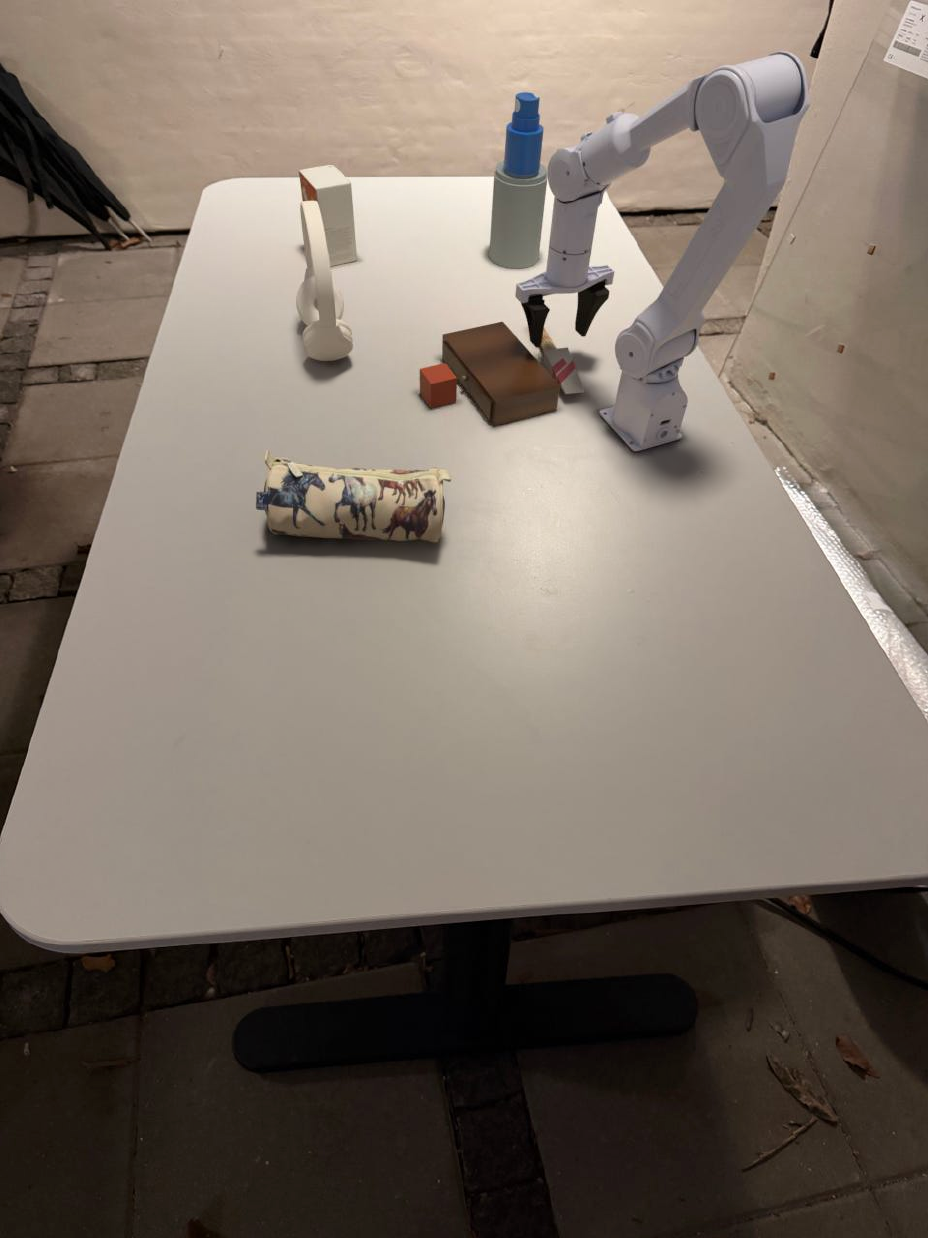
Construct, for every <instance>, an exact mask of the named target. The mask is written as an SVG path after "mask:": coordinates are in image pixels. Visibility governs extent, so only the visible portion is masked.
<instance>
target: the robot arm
mask: <svg viewBox="0 0 928 1238" xmlns="http://www.w3.org/2000/svg"><path fill="white" fill-rule="evenodd" d="M808 86H809V85H808V78H807V73H806V68H805V66H804V64H803V63H802V61H801V60H800V58H799V57H798V56H797V55H795V53H792V52H790V51H786V50H780V51H776V52H773V53H770V54H768V55H767V56H764V57H760V58H755V59H752V60H749V61H745V62H740V63H737V64H733V65H730V64H726V65H721V66H718V67H716V68H714V69H712V70H711V71H710V72H709V73H707V74H702V75H700V76H697V77H695V78H693V79H692V80H690V81H688V82H687V83H686V84H684V85H683V86H682V87H680V88H679V89H677V90H676V91H675V92H673V93H671V95H669V96H667V97H666V98H665V99H664V100H662V101H660V102H659V103H657V104H656V105H655V106H654V107H652V108H650V109H649V110H648V111H646V112H645V113H644V114H642V115H641V116H638V115H637V114H635V113H632V112H625V113H623V112H622V111H618V112H613V113H611V114H610V115H608V116H607V117H606V118H605V122H606V124H605V125H604V126H602V127H601V128H599V129H598V130H596V131H594V132H593V131H588V132H585V133H583V134H582V135H581V136H580V142H578V144H575V145H573V146H569V147H567V146H565V147H558V148H557V149H556V152H554V153H553V154H552V156H551V157H550V159H549V161H548V165H547V184H548V186H549V189H550V191H551V193H552V194H553V196H554V198H553V206H552V216H551V225H550V232H549V241H548V251H547V259H546V267H545V268H546V269H545V271H543V272H541V273H539V274H537V275H535V276H533V277H531V278H529V279H526V280H524V281H521V282H517V283H516V284H515V294H514V295H515V298H516V299H517V300H518V302H520V305H521V307H522V309H523V313H524V315H525V318H526V323H527V327H528V335H529V336H528V337H529V341H530V343H531V344H532V345H533V346H534V347H535V348H539V347H541V343H542V337H543V329H544V328H545V324H546V321H547V317H548V314H549V313H550V311H551V309H550V308H549V306H547V305H546V304H545V301H546V300H545V299H544V297H545V296H551V295H556V294H558V295H559V294H560V295H562V294H563V295H564V294H577V309H576V315H575V316H576V317H575V321H574V325H575V326H574V330H575V332H576V333H578V334H579V335H580V337H583V338H584V337H587V333H588V331H589V329H590V327H591V325H592V323H593V321H594V319H595V317H596V315H597V313H599V311H600V309H601V307H602V306H603V305H604V304H605V303H606V302H607V301H608V299H609V297H610V290H609V289H608V288H607V287H606V286H611V285H613V283H614V277H615V270H614V269H612V267H610V266H609V265H608V264H605V265H596V266H595V265H593V266H592V265H591V266H590V262H591V256H592V251H593V250H592V249H593V242H594V236H595V231H596V230H595V229H596V223H597V218H598V217H597V216H598V211H599V210H598V209H599V207H601V205H602V204H603V199H604V195H605V192H606V191H607V190H608V189H609V188H610V186H611V185H612V183H613V182H615V181H617V180H619V179H620V178H623V177H624V176H626V175H628V174H630V173H632V172H633V171H635V170H637V169H639V168H641V167H642V166H643V165H644V164H645V163H646V162H647V161H648V159H649V157H650V154H651V150H652V148H653V147H654V146H656V145H658V144H660V143H662V142H663V141H665V140H668V139H670V138H671V137H674V136H675V135H678V134H679V133H681V132H683V131H685V130H687V129H689V131H691V132H700V135H701V137H702V139H703V141H704V143H705V146H706V149H707V151H708V153H709V155H710V157H711V159H712V162H713V164H714V166H715V168H716V170H717V172H718V175H719V176H720V177H721V178H723V185H722V186H721V188H720V190H719V191H718V193H717V195H716V197H715V198H714V200H713V202H712V203H711V206H710V207H709V209H708V211H707V212H706V214H705V216H704V217H703V219H702V221H701V223H700V224H699V226H698V227H697V229H696V231H695V233H694V234H693V236H692V238H691V240H690V241H689V243H688V245H687V247H686V248H685V250H684V252H683V254H682V255H681V257H680V259H679V260H678V262H677V263H676V266H675V267H674V269H673V271H672V272H671V274H670V276H669V278H668V279H667V280H666V283H665V285H664V286H663V288H662V290H661V292H660V293H659V295H658V297H657V298H656V299H655V300H654V301H653V302H652V303H651V304H650V305H648V306H647V307H646V308H645V309H644V310H643V311H642V312H640V313H639V314H638V315H637V316H636V317H635V319H634V320H633V322H632V324H630V326H629V327H627V328H625V329H623V330H621V331H620V332H619V333H618V335H617V337H616V340H615V345H614V354H615V358H616V359H615V360H616V362H617V364H618V365H619V369H620V370H621V372H620V373H621V374H620V378H619V382H618V387H617V392H616V395H615V401H614V405H613V406H611V407H607V408H603V409H601V410H599V416H600V417H601V418H602V419H603V420H604V421H605V422H606V423H607V424H608V426H610V428H611V429H612V430H613V431H614V432H615V433H616V434H617V435H618V436H619V437H620V438H621V439H622V441H624V443H625V444H626V445H627V446H628V448H629V449H631V450H632V451H633V452H640V451H643V450H647V449H650V448H653V447H656V446H660V445H664V444H667V443H671V442H674V441H678V440H681V439H682V438H683V434H682V433H681V432H680V430H681V427H682V423H683V419H684V417H685V413H686V410H687V407H688V402H689V401H688V400H689V399H688V395H687V393H686V391H684V389H683V387H682V386H681V383H680V379H679V371H680V368H682V366H683V363H684V359H685V358H686V357H689V356H690V355H692V353H694V352H695V351H696V349H697V347H698V344H699V339H700V333H701V330H702V328H703V326H704V325H705V323H706V322H707V318H706V316H705V314H704V313H703V310H704V308H705V307H706V305H707V304H708V302H709V301H710V299H711V298H712V296H713V295H714V293H715V291H716V290H717V288H718V287H719V286H720V284H721V282H722V281H723V279H724V278H725V276H726V275H727V273H728V272H729V270H730V269H731V267H732V266H733V265H734V263H735V261H736V260H737V258H738V256H739V255H740V253H741V252H742V251H743V249H744V248H745V246H746V244H747V243H748V242H749V240H750V238H751V237H752V235H753V234H754V232H755V231H756V229H757V228H758V226H759V225H760V223H761V222H762V221H763V219H764V217H765V216H766V214H767V212H768V211H769V210H770V208H771V207H772V205H773V204H774V202H775V201H776V199H777V197H778V196H779V194H781V191H782V190H783V188H784V186H785V183H786V182H787V181H786V180H787V176H788V172H789V169H790V163H791V159H792V154H793V149H794V146H795V142H796V141H795V140H796V136H797V132H798V127H799V125H800V123H801V121H802V120H803V118H804V116H805V115H806V113H807V111H808V110H809V108H810V107H811V100H810V94H809V87H808Z"/></svg>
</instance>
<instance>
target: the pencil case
mask: <svg viewBox="0 0 928 1238" xmlns="http://www.w3.org/2000/svg"><path fill="white" fill-rule="evenodd" d="M264 463H265V465H266V466H267V468H268V473H267V476H266V479H265V481H264V482H265V483H264V486H263V491H256V497H255V498H256V499H255V500H256V501H255V509H256V510H258V511H264V513H265V515H266V522H267V523H266V524H267V527H268V529H269V531H270V532H271V533H272V534H273V535H285V536H286V535H289V536H293V537H298V538H299V537H300V538H320V539H321V538H322V539H348V540H363V541H369V540H382V541H383V540H384V541H391V540H392V541H397V542H403V541H416V540H421V541H428V542H431V543H437V542H438V541H439V539H440V538H441V535H442V529H443V525H444V519H445V513H446V512H445V511H446V501H445V496H444V481H445V482H448V483H451V482H452V476H451V473H450V472H449V471H448V469H443V468H438V467H431V468H429V469H427V470H420V469H413V470H411V469H410V470H406V469H396V468H395V469H394V468H393V469H392V468H391V469H390V468H389V469H373V468H359V467H351V468H335V467H326V466H325V467H324V466H321V465H312V464H305V463H299V462H298V463H297V462H294V461H292V460H291V459H290V458H287V457H285V456H284V457H275V458H273V456H272V454H271V453H270V450H269V449H266V451H265V455H264Z"/></svg>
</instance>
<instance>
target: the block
mask: <svg viewBox="0 0 928 1238" xmlns="http://www.w3.org/2000/svg"><path fill="white" fill-rule="evenodd" d="M457 390H458V378H457V377H456V376H455V374H454V373H453V372H452V371H451V369H450V368H449V367H448V365H447V364H446V363H445V362H442V363H439V364H434V365H430V366H426V367H422V368H419V394H420V396H421V397H422V398H423V399H424V401H425V402H426V404H427V405H428V407H429V408H430V409H434V408H437V407H442V406H446V405H450V404H453V403H454V404H455V403H457Z"/></svg>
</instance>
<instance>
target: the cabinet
mask: <svg viewBox="0 0 928 1238" xmlns="http://www.w3.org/2000/svg"><path fill="white" fill-rule="evenodd" d="M441 339H442V340H441V341H442V343H441V347H442V348H441V358H442V360H443V362H444V363H446V364H447V366H448V367H449V368H450V370H451V371H452V372H453V373H454V375H455V376H456V377H457V381H459V383H460V384H461V385H462V386H463V388H464V389H465V390H466V392H467V393H468V395H470V397H471V398H472V399H473V401H474V402H475V403H476V405H477V406H478V407H479V408H480V411H482V413H483V414H484V415H485V417H486V418H487V419H488V420H489V422H490V423H491V425H492V426H493V427H496V426H500V425H504V424H508V423H511V422H515V421H520V420H523V419H527V418H531V417H534V416H539V415H542V414H546V413H550V412H555V411H557V409H558V405H559V397H560V392H561V391H560V389H561V388H560V385H559V384H558V383H557V382H556V381H555V380H554V378H553V377H552V376H551V375H550V374H549V373H548V372H547V371H546V369H545V368H544V367H543V366H542V365H543V364H541V363H540V361H538V359H537V358H536V357H535V356H534V355H533V353H531V352H530V350H529V349H528V348H527V347H526V345H524V343H523V342H522V341H521V340H520V339H519V338H518V337H517V336H516V335H515V334H514V332H513V331H512V330H511V329H510V328H509V327H508V326H507V324H506V323H505V322H504V321H499V322H494V323H490V324H489V323H488V324H484V325H480V326H475V327H470V328H467V329H466V328H465V329H461V330H458V331H453V332H448V333H443V334H442V337H441Z"/></svg>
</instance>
